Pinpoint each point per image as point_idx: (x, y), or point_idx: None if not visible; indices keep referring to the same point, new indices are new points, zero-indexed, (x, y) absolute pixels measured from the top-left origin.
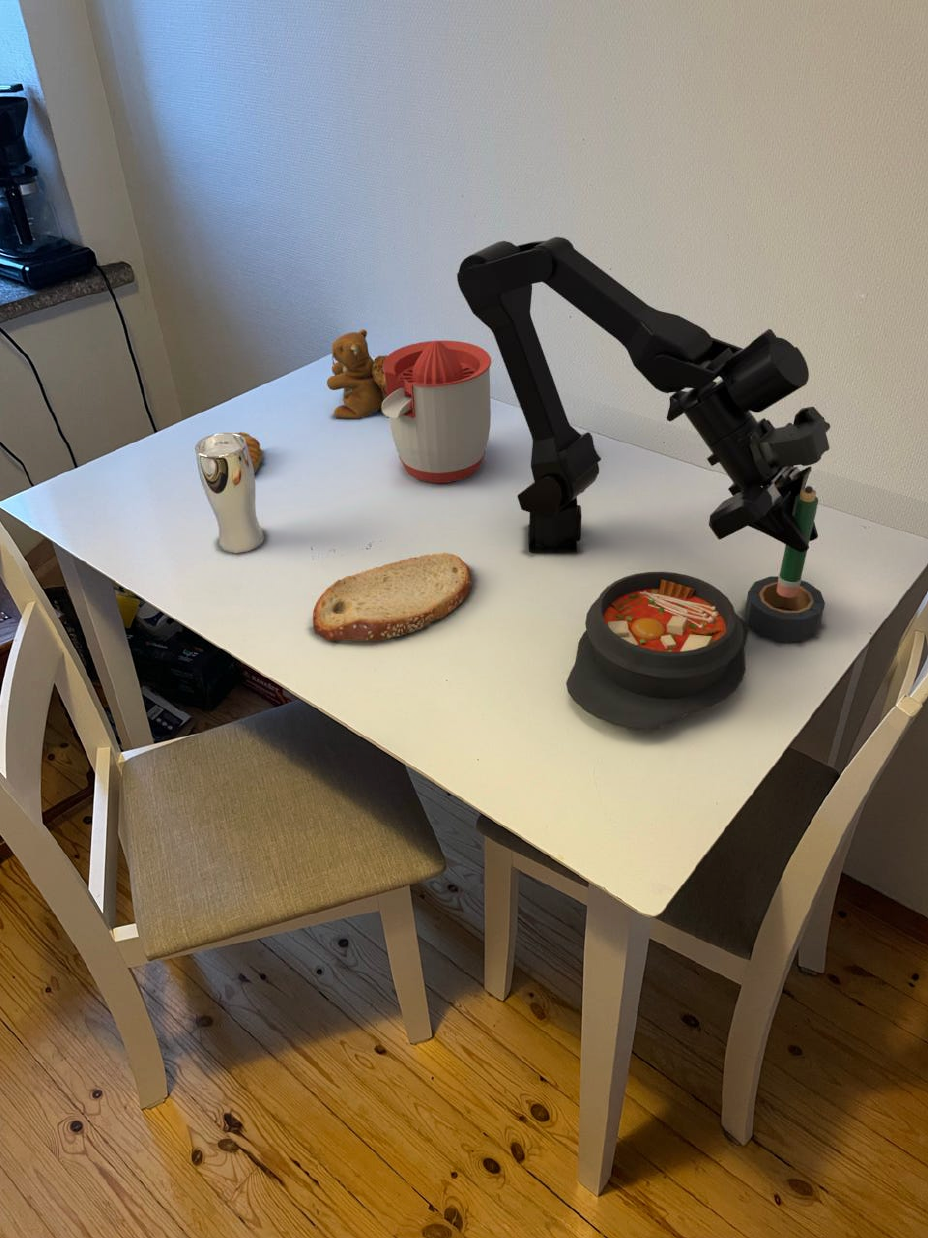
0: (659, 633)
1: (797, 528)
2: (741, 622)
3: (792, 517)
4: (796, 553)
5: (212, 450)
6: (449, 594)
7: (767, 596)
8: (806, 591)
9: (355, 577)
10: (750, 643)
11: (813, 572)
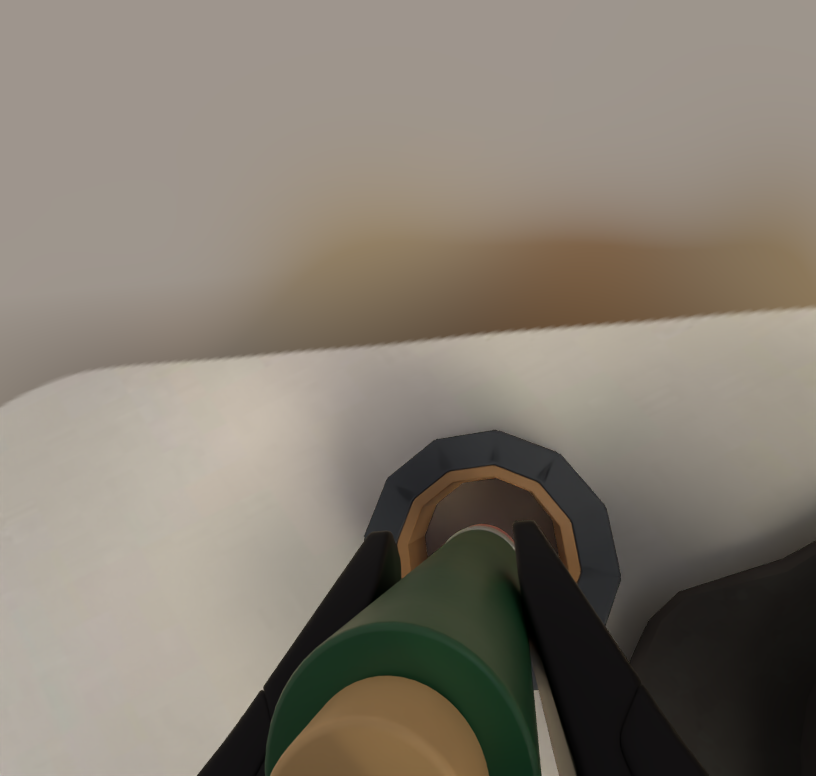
0: None
1: (575, 649)
2: (668, 633)
3: (595, 761)
4: (518, 580)
5: None
6: None
7: None
8: (413, 515)
9: None
10: (652, 571)
11: (230, 570)
